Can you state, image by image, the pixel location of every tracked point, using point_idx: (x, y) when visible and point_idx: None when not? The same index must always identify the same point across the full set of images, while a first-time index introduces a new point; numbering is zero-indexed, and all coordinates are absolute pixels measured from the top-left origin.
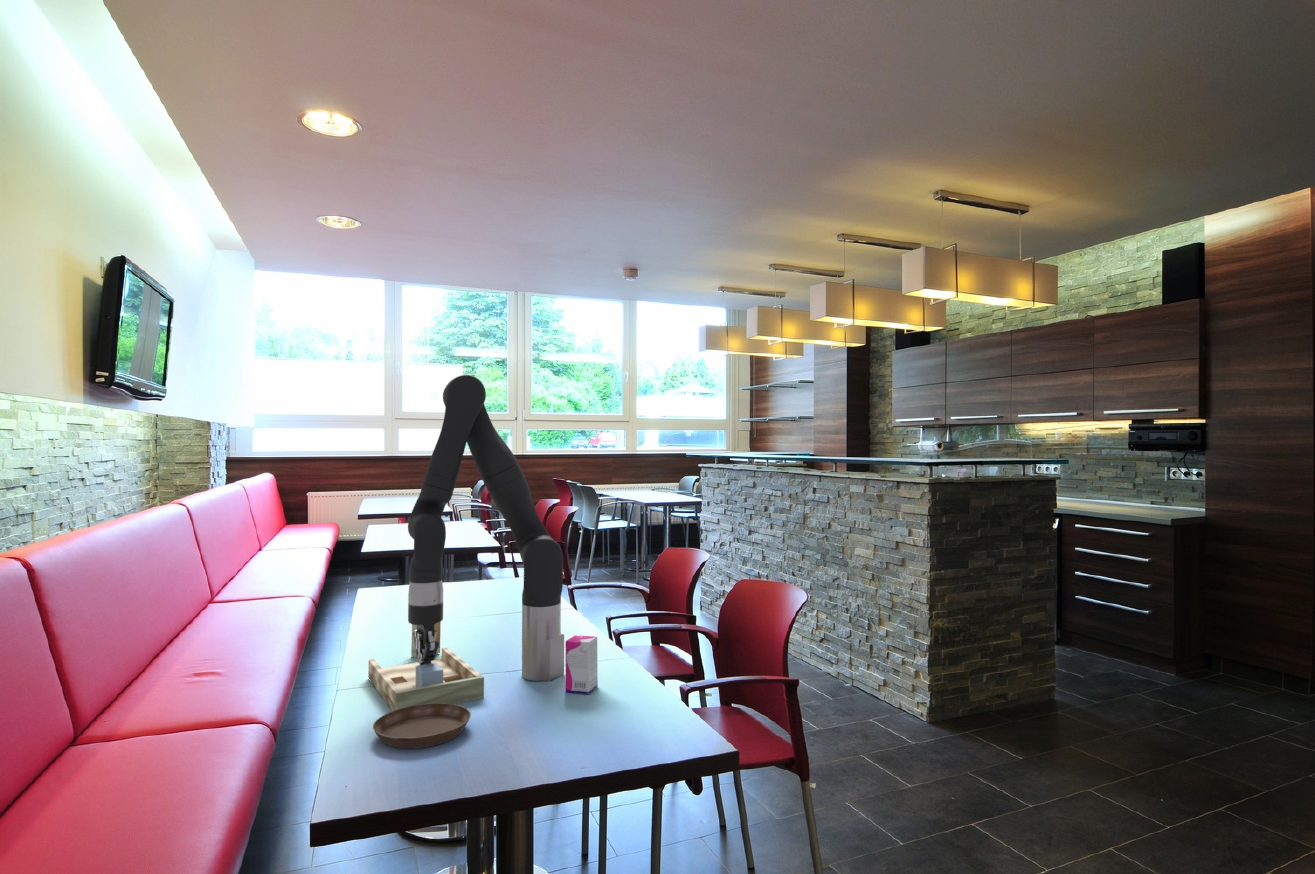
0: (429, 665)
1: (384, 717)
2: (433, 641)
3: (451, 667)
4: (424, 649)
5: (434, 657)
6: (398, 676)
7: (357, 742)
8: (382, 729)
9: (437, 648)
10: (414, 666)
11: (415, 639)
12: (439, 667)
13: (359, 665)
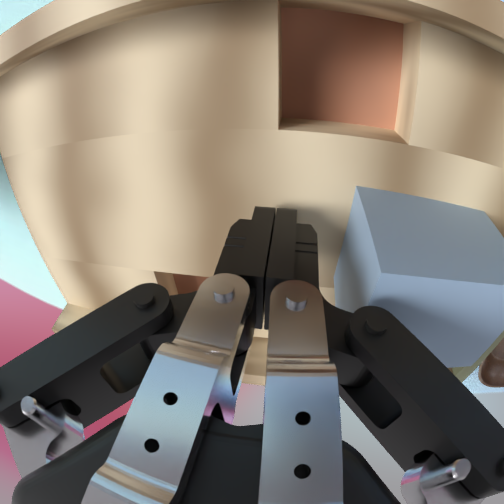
0: (404, 324)
1: (482, 373)
2: (480, 499)
3: (100, 32)
4: (394, 455)
5: (414, 341)
6: (151, 282)
7: (475, 379)
8: (491, 363)
9: (499, 424)
10: (44, 200)
11: (88, 421)
12: (493, 292)
13: (4, 273)
